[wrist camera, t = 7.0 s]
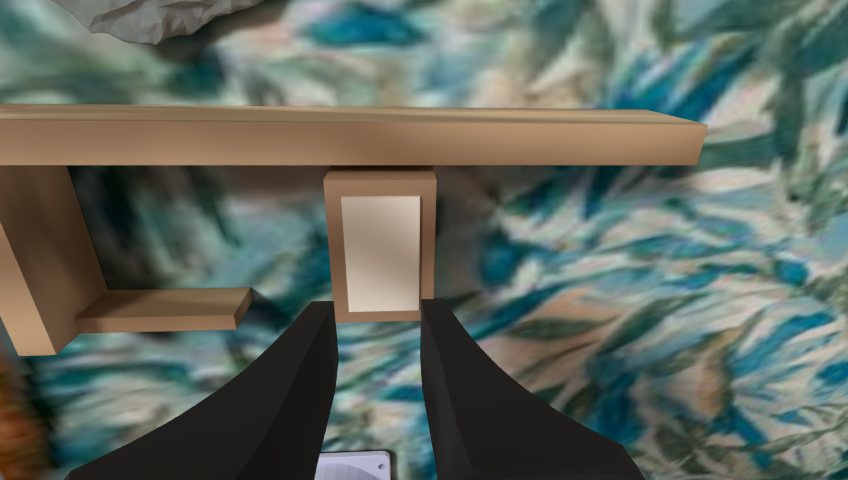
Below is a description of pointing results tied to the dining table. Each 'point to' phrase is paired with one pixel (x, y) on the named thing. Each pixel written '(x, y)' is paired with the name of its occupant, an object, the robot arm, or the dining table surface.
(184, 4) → the stone
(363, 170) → the cabinet block
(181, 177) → the dining table surface
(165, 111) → the wooden bracket
